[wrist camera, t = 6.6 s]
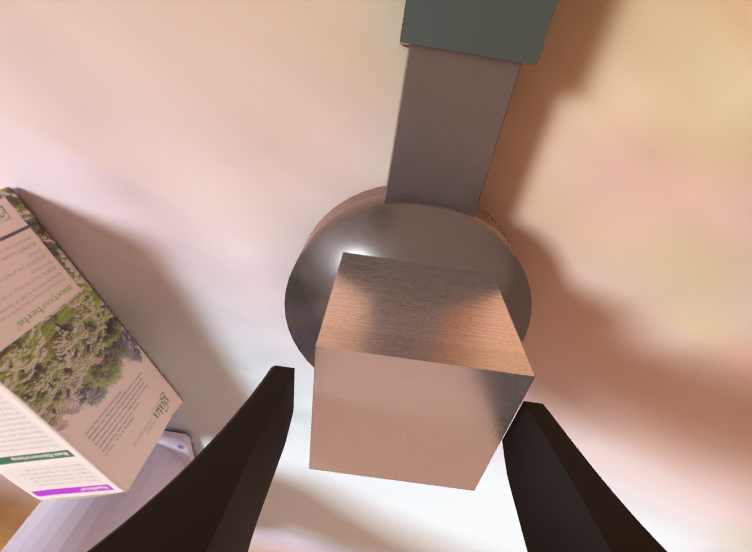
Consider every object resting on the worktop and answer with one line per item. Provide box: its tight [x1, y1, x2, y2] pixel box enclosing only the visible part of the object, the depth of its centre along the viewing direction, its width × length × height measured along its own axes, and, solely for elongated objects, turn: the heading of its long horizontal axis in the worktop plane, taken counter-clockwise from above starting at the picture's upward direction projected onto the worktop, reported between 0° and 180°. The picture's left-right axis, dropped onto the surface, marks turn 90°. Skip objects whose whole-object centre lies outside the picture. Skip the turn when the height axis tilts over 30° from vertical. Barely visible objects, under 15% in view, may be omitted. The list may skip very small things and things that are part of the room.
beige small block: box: [309, 252, 535, 491], centre depth 13 cm, size 6×6×5 cm
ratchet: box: [285, 0, 557, 367], centre depth 11 cm, size 20×10×6 cm, turn 172°
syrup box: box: [0, 187, 183, 500], centre depth 17 cm, size 6×6×14 cm
